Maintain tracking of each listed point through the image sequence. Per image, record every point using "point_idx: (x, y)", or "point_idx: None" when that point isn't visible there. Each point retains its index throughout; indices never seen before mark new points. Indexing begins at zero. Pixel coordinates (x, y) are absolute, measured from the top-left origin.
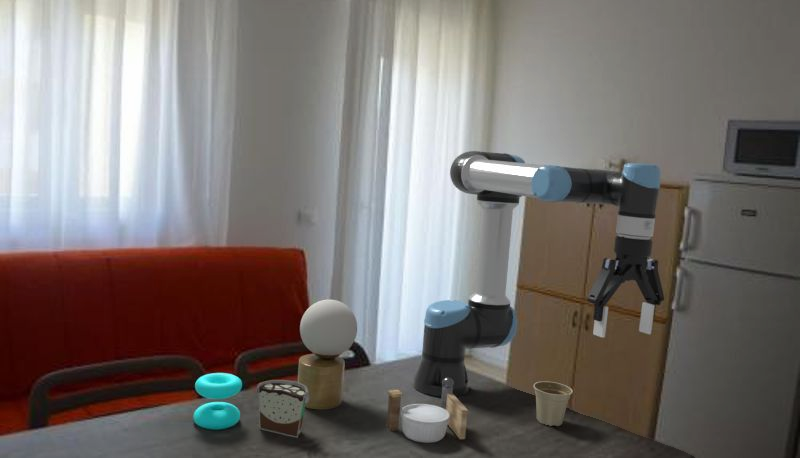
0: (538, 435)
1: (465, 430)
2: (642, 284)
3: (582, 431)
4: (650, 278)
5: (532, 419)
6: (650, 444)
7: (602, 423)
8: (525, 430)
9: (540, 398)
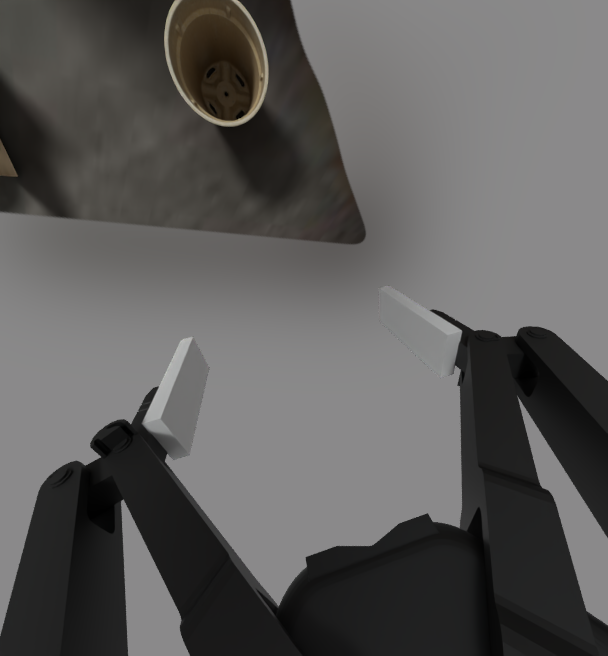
0: (182, 164)
1: (3, 175)
2: (465, 471)
3: (271, 158)
4: (600, 468)
5: None
6: (348, 221)
7: (327, 126)
8: (162, 136)
9: (185, 84)
